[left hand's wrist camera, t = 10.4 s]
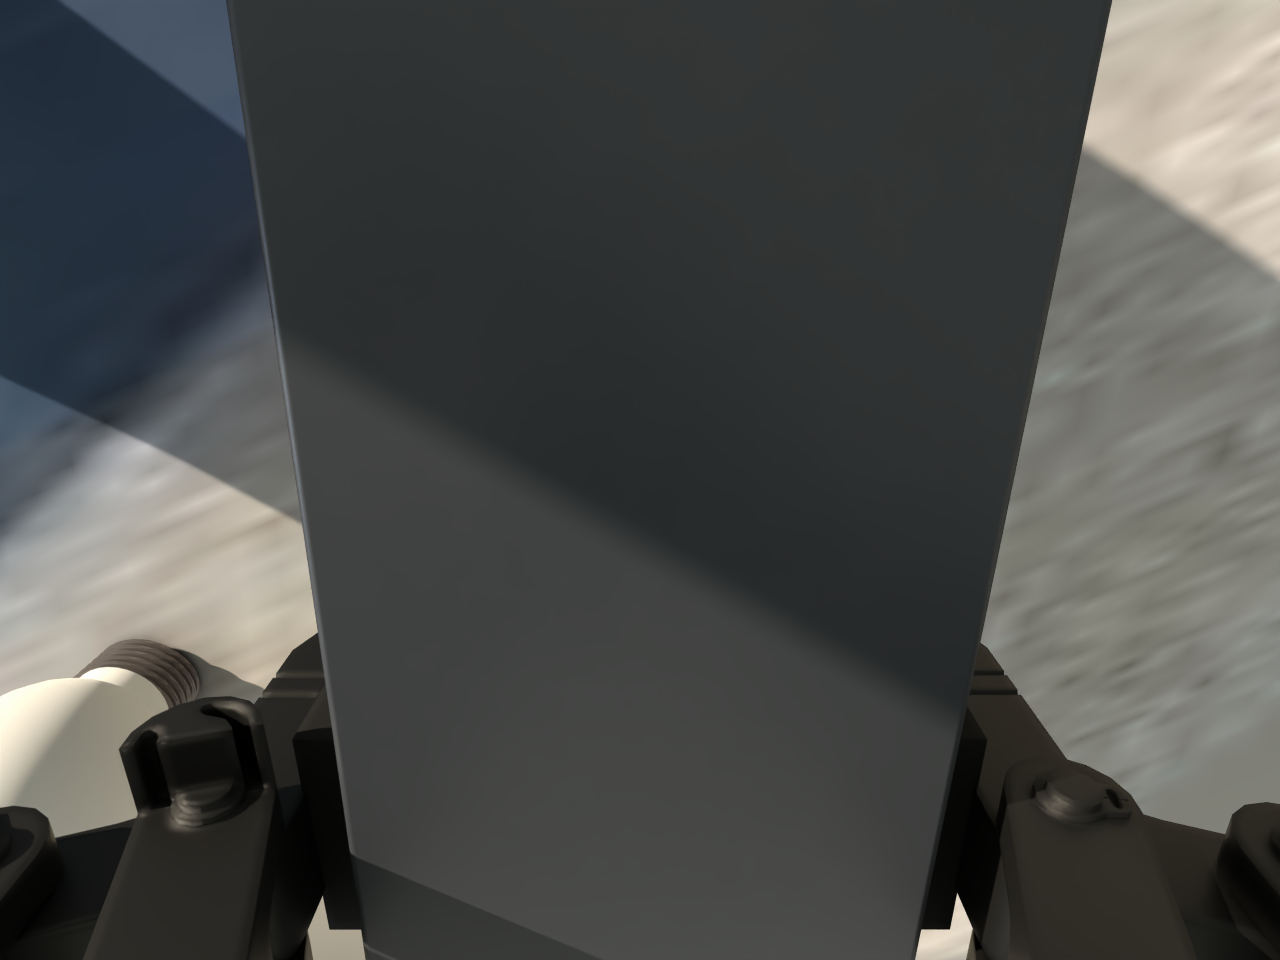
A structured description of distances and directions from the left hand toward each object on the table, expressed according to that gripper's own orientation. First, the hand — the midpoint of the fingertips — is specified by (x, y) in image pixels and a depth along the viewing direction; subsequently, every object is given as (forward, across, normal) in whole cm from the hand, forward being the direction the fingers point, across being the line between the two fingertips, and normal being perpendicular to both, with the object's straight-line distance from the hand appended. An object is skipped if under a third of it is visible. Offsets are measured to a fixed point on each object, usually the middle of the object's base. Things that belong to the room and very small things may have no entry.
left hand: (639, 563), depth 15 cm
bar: (+1, -1, -29) cm, 29 cm away
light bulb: (+15, +20, +13) cm, 28 cm away
